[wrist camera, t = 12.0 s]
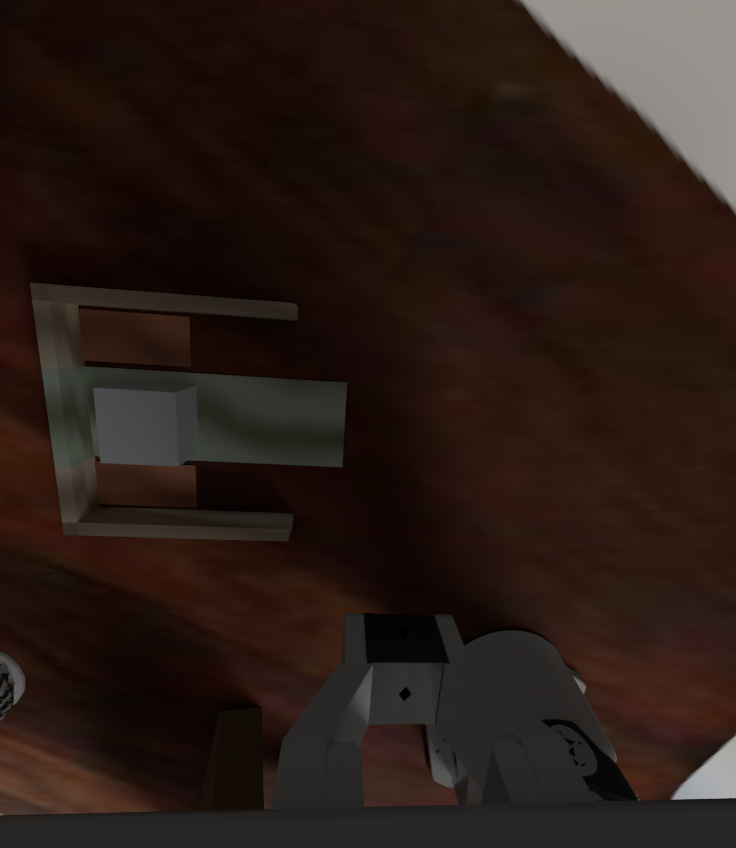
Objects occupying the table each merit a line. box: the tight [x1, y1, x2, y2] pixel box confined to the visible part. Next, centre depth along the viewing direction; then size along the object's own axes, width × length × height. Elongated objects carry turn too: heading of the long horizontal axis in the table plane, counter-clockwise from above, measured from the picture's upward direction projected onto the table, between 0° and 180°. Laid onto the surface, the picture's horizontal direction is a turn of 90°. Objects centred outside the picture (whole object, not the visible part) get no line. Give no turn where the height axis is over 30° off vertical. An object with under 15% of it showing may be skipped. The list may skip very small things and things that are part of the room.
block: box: [93, 381, 199, 467], centre depth 30 cm, size 6×6×4 cm
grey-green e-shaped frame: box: [30, 283, 347, 541], centre depth 31 cm, size 20×24×3 cm
